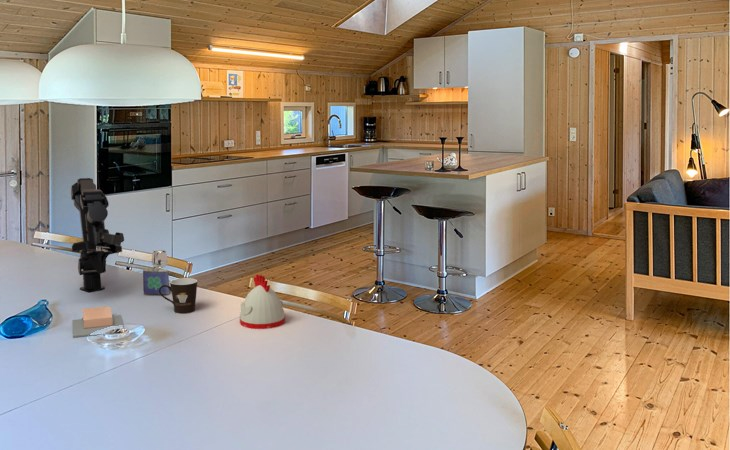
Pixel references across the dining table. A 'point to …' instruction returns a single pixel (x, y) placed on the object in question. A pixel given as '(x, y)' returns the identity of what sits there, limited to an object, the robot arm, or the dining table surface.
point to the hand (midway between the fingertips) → (100, 273)
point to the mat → (82, 332)
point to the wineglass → (159, 259)
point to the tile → (97, 317)
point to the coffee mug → (182, 294)
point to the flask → (155, 281)
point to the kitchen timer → (261, 307)
